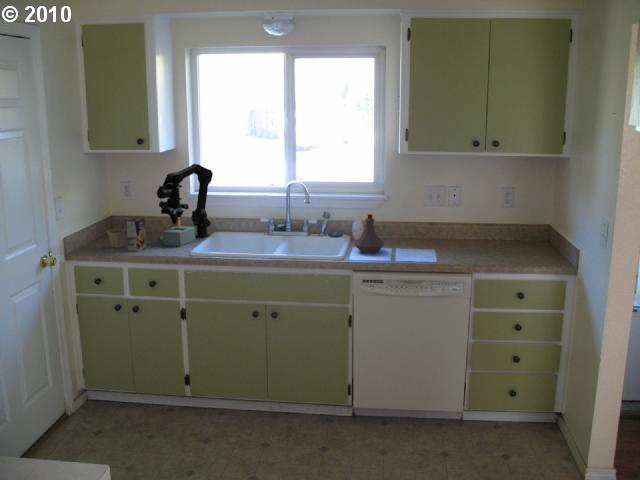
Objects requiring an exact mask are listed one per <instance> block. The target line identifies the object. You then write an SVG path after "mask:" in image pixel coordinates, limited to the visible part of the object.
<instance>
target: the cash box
mask: <svg viewBox="0 0 640 480" xmlns="http://www.w3.org/2000/svg"><path fill="white" fill-rule="evenodd" d="M161 232H162V235H161V236H163V240H162V245H163V246H168V247H178V248H181V247H183V246H186V245H188V244H191V243H194V242H196V237H195V236H196V226H187V225H186V226H185V225H181V226H179V227H177V226H172V227H170V228H167V229H164V230H162V231H161Z"/></svg>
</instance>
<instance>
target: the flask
mask: <svg viewBox="0 0 640 480" xmlns="http://www.w3.org/2000/svg"><path fill="white" fill-rule="evenodd" d="M364 221H365V223H366V224H365V228H364V232H363V234H361V236H360V237H359V238H358V239H357V240H356V241H355V242H354V243H353V245H354V246H355V248H357V249H358V251H361V252H360V253H362V252H363V254H367V253H373V254H377V253H378V252H380V250H381V249H382V248H383V247H384V246H385V242H384V241H383V240H382V239H381V238H380V237H379V236H378V235H377V233H376V229H375V226H374V222H375V219H374V218H373V214H370V213H369V214H367V218H366V219H365V220H364Z"/></svg>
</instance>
